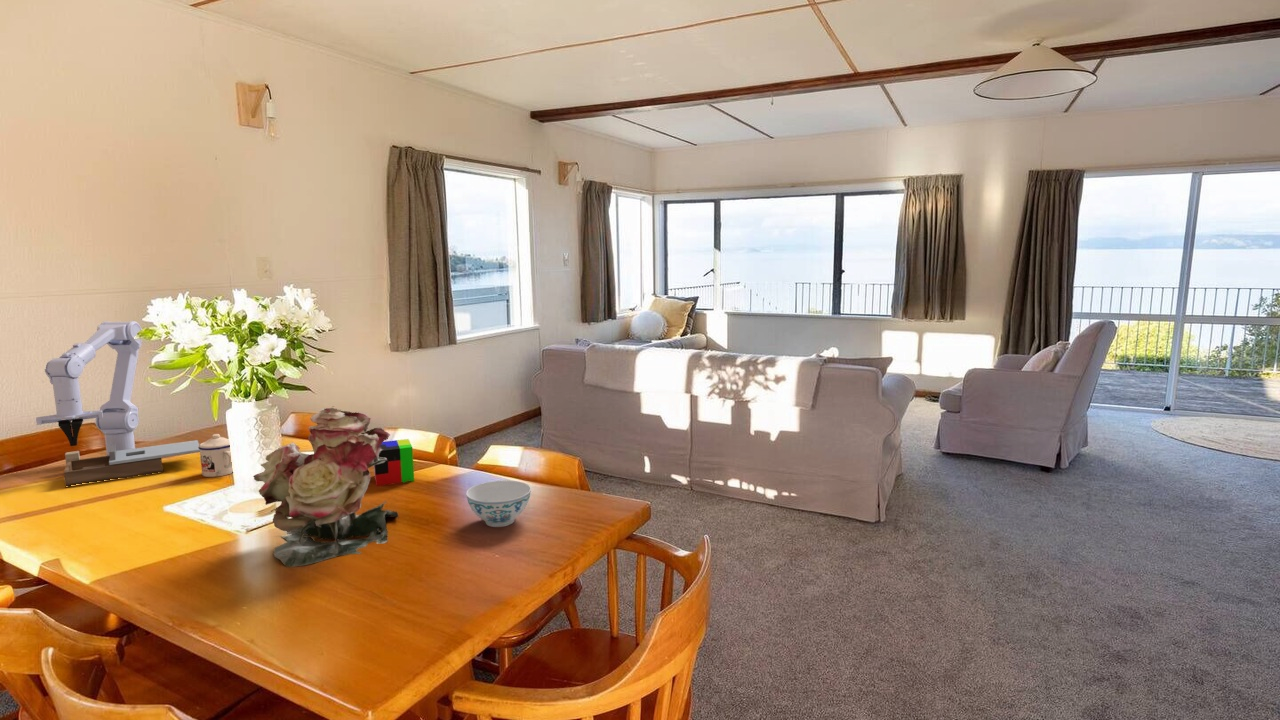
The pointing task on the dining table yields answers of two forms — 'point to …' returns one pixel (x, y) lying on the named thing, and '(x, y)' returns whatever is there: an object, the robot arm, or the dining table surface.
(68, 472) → the toolbox
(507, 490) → the chinaware
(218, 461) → the teacup with lid
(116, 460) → the toolbox lid
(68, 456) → the wooden block
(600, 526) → the dining table surface
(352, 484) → the rose bouquet
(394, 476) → the puzzle toy
